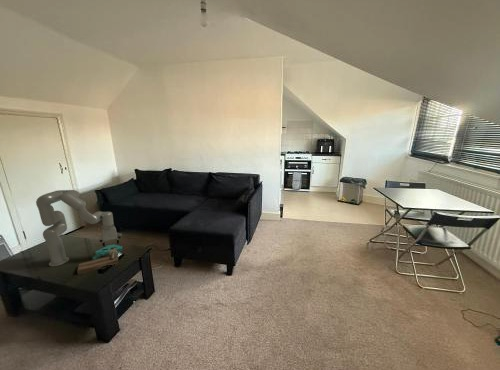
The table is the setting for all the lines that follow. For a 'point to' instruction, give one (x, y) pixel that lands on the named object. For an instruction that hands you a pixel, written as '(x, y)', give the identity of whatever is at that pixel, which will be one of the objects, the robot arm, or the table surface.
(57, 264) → the robot arm
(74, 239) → the table surface
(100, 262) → the board
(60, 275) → the table surface
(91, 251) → the table surface
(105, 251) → the alien figure
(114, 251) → the mallet
